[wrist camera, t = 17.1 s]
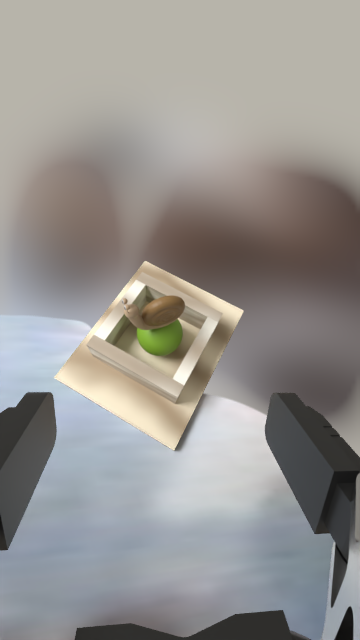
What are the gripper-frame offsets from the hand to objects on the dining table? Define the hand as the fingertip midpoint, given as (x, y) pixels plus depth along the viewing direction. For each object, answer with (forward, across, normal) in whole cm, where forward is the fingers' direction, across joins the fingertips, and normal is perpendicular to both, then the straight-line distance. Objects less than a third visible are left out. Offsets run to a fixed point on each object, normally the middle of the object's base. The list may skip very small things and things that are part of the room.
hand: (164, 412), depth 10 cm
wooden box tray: (+25, 0, +8) cm, 26 cm away
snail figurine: (+24, 0, +8) cm, 25 cm away
